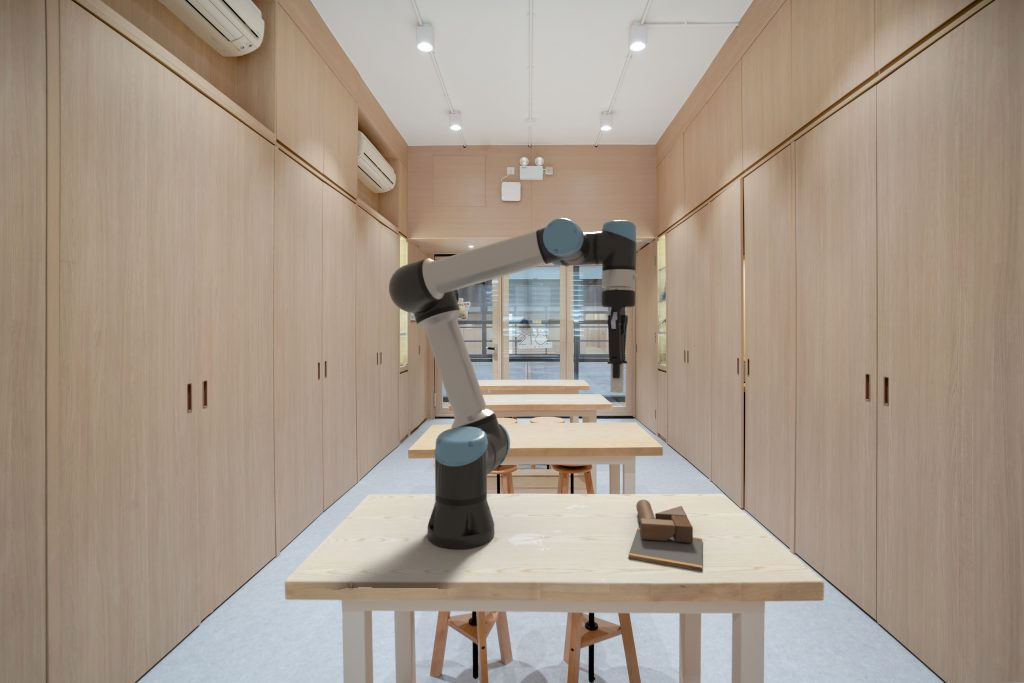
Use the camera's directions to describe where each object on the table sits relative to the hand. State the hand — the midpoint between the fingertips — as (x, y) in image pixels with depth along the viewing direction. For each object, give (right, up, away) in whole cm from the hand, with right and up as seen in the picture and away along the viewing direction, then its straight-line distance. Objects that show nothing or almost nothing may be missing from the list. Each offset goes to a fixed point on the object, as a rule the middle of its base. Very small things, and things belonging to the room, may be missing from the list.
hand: (616, 391), depth 112 cm
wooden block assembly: (+9, -30, -7) cm, 32 cm away
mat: (+9, -33, -9) cm, 35 cm away
